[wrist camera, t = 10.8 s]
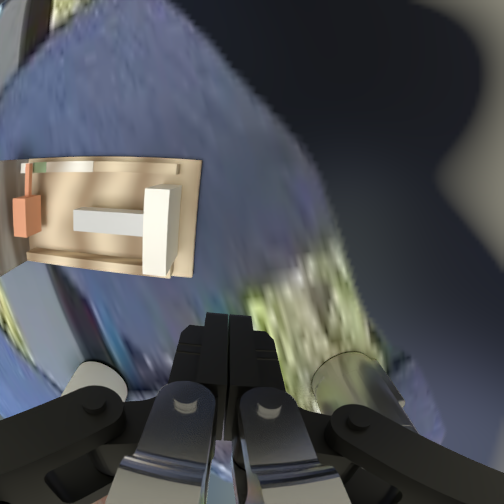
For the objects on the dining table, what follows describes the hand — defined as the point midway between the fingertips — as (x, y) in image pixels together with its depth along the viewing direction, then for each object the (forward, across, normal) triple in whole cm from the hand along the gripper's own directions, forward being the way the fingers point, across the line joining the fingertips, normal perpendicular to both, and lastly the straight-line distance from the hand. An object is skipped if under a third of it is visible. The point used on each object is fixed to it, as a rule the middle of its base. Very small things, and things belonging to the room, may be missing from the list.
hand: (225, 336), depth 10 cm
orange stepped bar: (+18, +22, -2) cm, 29 cm away
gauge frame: (+21, +15, 0) cm, 26 cm away
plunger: (+19, +10, 0) cm, 22 cm away
